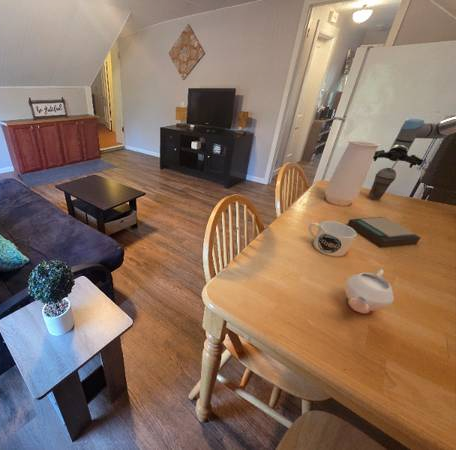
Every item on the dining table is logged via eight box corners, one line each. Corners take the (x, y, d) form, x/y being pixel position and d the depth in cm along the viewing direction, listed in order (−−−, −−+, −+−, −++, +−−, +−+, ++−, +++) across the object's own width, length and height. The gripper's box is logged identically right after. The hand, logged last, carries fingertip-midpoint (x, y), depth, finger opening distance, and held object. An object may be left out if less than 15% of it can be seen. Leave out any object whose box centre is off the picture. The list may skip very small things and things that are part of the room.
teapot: (391, 298, 67) (409, 273, 62) (367, 340, 57) (387, 314, 52) (351, 279, 74) (365, 255, 69) (323, 313, 63) (337, 288, 58)
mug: (346, 245, 88) (356, 226, 83) (346, 261, 80) (357, 241, 76) (305, 233, 94) (312, 215, 90) (301, 247, 87) (308, 228, 82)
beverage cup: (366, 194, 125) (386, 155, 114) (384, 199, 120) (406, 159, 110) (362, 198, 121) (382, 158, 110) (380, 203, 116) (403, 162, 106)
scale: (416, 244, 89) (422, 235, 87) (380, 247, 87) (385, 239, 85) (378, 222, 101) (383, 215, 99) (346, 225, 99) (350, 217, 97)
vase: (349, 210, 110) (380, 147, 96) (318, 200, 118) (342, 141, 103) (356, 201, 118) (386, 142, 103) (326, 193, 126) (350, 137, 111)
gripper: (425, 165, 125) (423, 175, 113) (366, 154, 140) (358, 163, 127) (434, 150, 121) (433, 159, 109) (372, 141, 136) (365, 148, 123)
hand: (393, 161), depth 118 cm, fingers open, 13 cm apart
